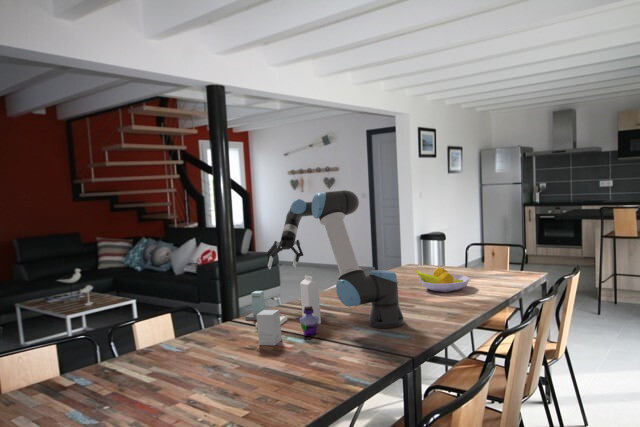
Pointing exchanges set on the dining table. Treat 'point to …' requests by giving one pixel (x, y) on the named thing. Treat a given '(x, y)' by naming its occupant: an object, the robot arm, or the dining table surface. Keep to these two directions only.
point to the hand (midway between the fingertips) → (281, 267)
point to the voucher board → (282, 319)
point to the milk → (310, 296)
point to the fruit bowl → (443, 280)
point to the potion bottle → (309, 322)
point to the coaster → (251, 317)
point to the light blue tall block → (258, 302)
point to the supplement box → (269, 327)
